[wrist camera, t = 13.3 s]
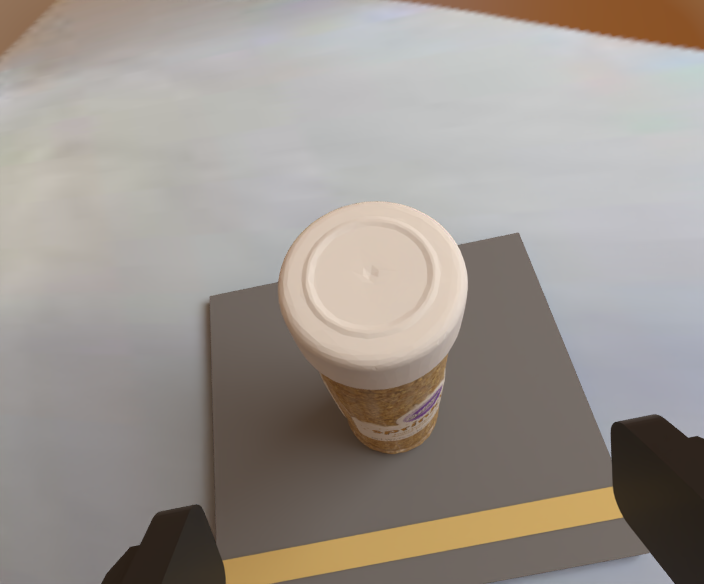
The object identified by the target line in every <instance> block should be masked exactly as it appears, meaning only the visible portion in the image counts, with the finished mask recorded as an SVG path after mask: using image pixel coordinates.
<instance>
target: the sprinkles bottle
mask: <svg viewBox="0 0 704 584" xmlns="http://www.w3.org/2000/svg"><path fill="white" fill-rule="evenodd" d="M467 291H468V277H467V270H466V266H465V262H464V259H463V256H462V254H461V251H460V249H459V247H458V246H457V244H456V242H455V241H454V239H453V238H452V237H451V235H450V234H449V233H448V232H447V231H446V230H445V229H444V228H443V227H442V226H441V225H440V224H439V223H438V222H437V221H435V220H434V219H432V218H431V217H429V216H428V215H426V214H424V213H422V212H420V211H418V210H416V209H414V208H411V207H408V206H405V205H401V204H396V203H390V202H378V201H375V202H362V203H356V204H352V205H348V206H344V207H341V208H338V209H336V210H333V211H331V212H329V213H328V214H326V215H324V216H322V217H320V218H319V219H317V220H316V221H314V222H313V223H312V224H311V225H309V226H308V227H307V228H306V229H305V230H304V231H303V232H302V233H301V234H300V235H299V236H298V237H297V239H296V240H295V241H294V243H293V244H292V246H291V247H290V249H289V250H288V252H287V254H286V256H285V258H284V261H283V264H282V267H281V271H280V275H279V281H278V298H279V305H280V309H281V313H282V316H283V318H284V321H285V323H286V325H287V327H288V329H289V331H290V333H291V335H292V337H293V339H294V340H295V342H296V344H297V346H298V347H299V349H300V351H301V352H302V353H303V355H304V356H305V358H306V359H307V360H308V361H309V362H310V363H311V364H312V365H313V366H314V367H315V368H316V369H317V370H318V371H319V373H320V375H321V378H322V380H323V382H324V384H325V385H326V387H327V389H328V391H329V392H330V394H331V396H332V397H333V399H334V401H335V402H336V404H337V405H338V407H339V409H340V410H341V412H342V413H343V415H344V416H345V417H346V418H347V419H348V423H349V426H350V428H351V429H352V431H353V433H354V434H355V436H356V437H357V438H358V439H359V440H360V441H361V442H362V443H363V444H364V445H366V446H368V447H369V448H371V449H373V450H376V451H379V452H382V453H387V454H397V453H403V452H407V451H409V450H411V449H413V448H415V447H417V446H419V445H421V444H422V443H423V442H424V441H425V440H426V439H427V438H428V437H429V436H430V434H431V432H432V431H433V429H434V427H435V424H436V422H437V417H438V411H439V404H440V400H441V395H442V390H443V385H444V381H445V367H446V362H447V357H448V352H449V351H450V349H451V347H452V346H453V344H454V342H455V340H456V338H457V336H458V333H459V330H460V327H461V323H462V319H463V315H464V310H465V305H466V299H467Z"/></svg>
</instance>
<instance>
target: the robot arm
mask: <svg viewBox="0 0 704 584" xmlns="http://www.w3.org/2000/svg"><path fill="white" fill-rule="evenodd" d="M611 456H612V484H613V492H614V496H615V500H616V503H617V505H618V508H619V510H620V512H621V514H622V516H623V518H624V519H625V521H626V522H627V524H628V525H629V526H630V528H631V529H632V530H633V531H634V533H635V534H636V535H637V536H638V538H639V539H640V540H641V541H642V543H643V544H644V545H645V547H646V548H647V549H648V550H649V552H650V553H651V554H652V555H653V557H654V558H655V559H656V561H657V562H658V563H659V564H660V566H661V567H662V568H663V569H664V571H665V572H666V573H667V574H668V576H669V577H670V578H671V580H672V581H673V582H674V583H675V584H704V439H703V438H700V437H698V436H695V437H690V438H688V437H687V436H685V435H684V434H683V433H682V432H680V431H679V430H678V429H677V428H675V427H674V426H673V425H672V424H671V423H669V422H668V421H667V420H666V419H664V418H663V417H661V416H659V415H656V414H654V415H648V416H643V417H638V418H633V419H628V420H623V421H618V422H615V423H613V425H612V427H611ZM101 584H226V576H225V568H224V564H223V561H222V558H221V556H220V553H219V550H218V548H217V545H216V542H215V540H214V537H213V534H212V532H211V529H210V526H209V524H208V521H207V518H206V516H205V513H204V511H203V509H202V507H201V506H200V505H197V504H196V505H191V506H186V507H181V508H176V509H171V510H166V511H161V512H158V513H157V514H156V515H155V516H154V517H153V519H152V521H151V523H150V525H149V527H148V529H147V532H146V534H145V536H144V538H143V540H142V542H141V544H140V545H138V546H133V547H130V548H129V549H128V550H127V551H126V552H125V554H124V555H123V556H122V557H121V558H120V559H119V560H118V561H117V563H116V564H115V565H114V566H113V567H112V568H111V569H110V570H109V572H108V573H107V574H106V576H105V578H104V580H103V581H102V583H101Z"/></svg>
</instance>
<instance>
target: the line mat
mask: <svg viewBox="0 0 704 584" xmlns="http://www.w3.org/2000/svg"><path fill="white" fill-rule="evenodd" d="M457 246H458V247H459V249H460V251H461V254H462V256H463V259H464V262H465V266H466V270H467V277H468V291H467V299H466V305H465V310H464V315H463V319H462V323H461V327H460V330H459V333H458V336H457V338H456V340H455V342H454V344H453V346H452V347H451V349H450V351H449V352H448V357H447V362H446V367H445V381H444V385H443V390H442V395H441V400H440V404H439V411H438V417H437V422H436V424H435V427H434V429H433V431H432V432H431V434H430V436H429V437H428V438H427V439H426V440H425V441H424V442H423V443H422V444H421V445H419V446H417V447H415V448H413V449H411V450H409V451H407V452H403V453H397V454H387V453H382V452H379V451H376V450H373V449H371V448H369V447H368V446H366V445H364V444H363V443H362V442H361V441H360V440H359V439H358V438H357V437H356V436H355V434H354V433H353V431H352V429H351V428H350V426H349V423H348V419H347V418H346V417H345V416H344V415H343V413H342V412H341V410H340V409H339V407H338V405H337V404H336V402H335V401H334V399H333V397H332V396H331V394H330V392H329V391H328V389H327V387H326V385H325V384H324V382H323V380H322V378H321V375H320V373H319V371H318V370H317V369H316V368H315V367H314V366H313V365H312V364H311V363H310V362H309V361H308V360H307V359H306V358H305V356H304V355H303V353H302V352H301V351H300V349H299V347H298V346H297V344H296V342H295V340H294V339H293V337H292V335H291V333H290V331H289V329H288V327H287V325H286V323H285V321H284V318H283V316H282V313H281V309H280V305H279V298H278V282H277V283H272V284H267V285H262V286H258V287H253V288H248V289H243V290H238V291H233V292H229V293H224V294H219V295H214V296H210V328H211V366H212V403H213V441H214V479H215V517H216V545H217V548H218V550H219V553H220V556H221V558H222V561H223V564H224V568H225V576H226V584H485V583H491V582H496V581H501V580H507V579H512V578H517V577H523V576H528V575H534V574H539V573H544V572H550V571H555V570H561V569H566V568H571V567H577V566H582V565H588V564H593V563H598V562H604V561H609V560H615V559H620V558H625V557H631V556H636V555H641V554H647V553H649V550H648V549H647V548H646V547H645V545H644V544H643V543H642V541H641V540H640V539H639V538H638V536H637V535H636V534H635V533H634V531H633V530H632V529H631V528H630V526H629V525H628V524H627V522H626V521H625V519H624V518H623V516H622V514H621V512H620V510H619V508H618V505H617V503H616V500H615V496H614V492H613V484H612V460H611V457H610V455H609V452H608V450H607V447H606V445H605V442H604V440H603V438H602V435H601V433H600V430H599V428H598V425H597V423H596V420H595V418H594V416H593V413H592V411H591V408H590V406H589V403H588V401H587V398H586V396H585V394H584V391H583V389H582V386H581V384H580V381H579V379H578V376H577V374H576V372H575V369H574V367H573V364H572V362H571V359H570V357H569V354H568V352H567V350H566V347H565V345H564V342H563V340H562V337H561V335H560V332H559V330H558V328H557V325H556V323H555V320H554V318H553V315H552V313H551V310H550V308H549V306H548V303H547V301H546V298H545V296H544V293H543V291H542V288H541V286H540V284H539V281H538V279H537V276H536V274H535V271H534V269H533V266H532V264H531V262H530V259H529V257H528V254H527V252H526V249H525V247H524V244H523V242H522V240H521V237H520V235H519V233H514V234H510V235H505V236H500V237H495V238H490V239H485V240H481V241H476V242H471V243H466V244H461V245H457Z"/></svg>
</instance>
